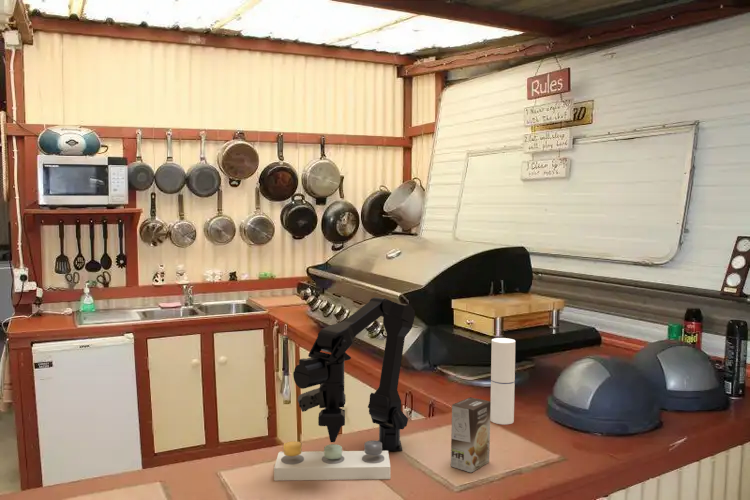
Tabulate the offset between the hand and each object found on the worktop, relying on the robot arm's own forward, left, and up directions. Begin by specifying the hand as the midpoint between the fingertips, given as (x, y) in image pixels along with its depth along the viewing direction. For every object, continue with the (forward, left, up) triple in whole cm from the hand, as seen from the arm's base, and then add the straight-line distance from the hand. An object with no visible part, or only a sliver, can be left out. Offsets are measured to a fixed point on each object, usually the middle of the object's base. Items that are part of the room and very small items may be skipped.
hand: (332, 441), depth 154 cm
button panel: (0, 0, -8) cm, 8 cm away
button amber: (0, -10, -3) cm, 10 cm away
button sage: (0, 0, -4) cm, 4 cm away
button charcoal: (0, +10, -3) cm, 11 cm away
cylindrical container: (-35, +51, -8) cm, 62 cm away
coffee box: (-3, +35, -8) cm, 36 cm away
